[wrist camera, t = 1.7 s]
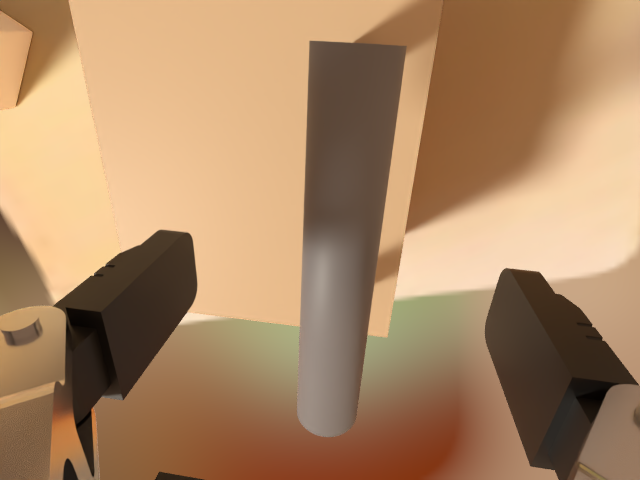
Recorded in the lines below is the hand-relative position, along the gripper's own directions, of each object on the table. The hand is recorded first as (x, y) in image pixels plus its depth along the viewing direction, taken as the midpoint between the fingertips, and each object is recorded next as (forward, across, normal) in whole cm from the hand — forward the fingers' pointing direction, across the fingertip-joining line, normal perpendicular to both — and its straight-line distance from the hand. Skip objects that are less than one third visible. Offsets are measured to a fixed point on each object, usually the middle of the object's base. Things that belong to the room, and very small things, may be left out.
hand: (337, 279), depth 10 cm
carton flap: (+8, +5, 0) cm, 9 cm away
